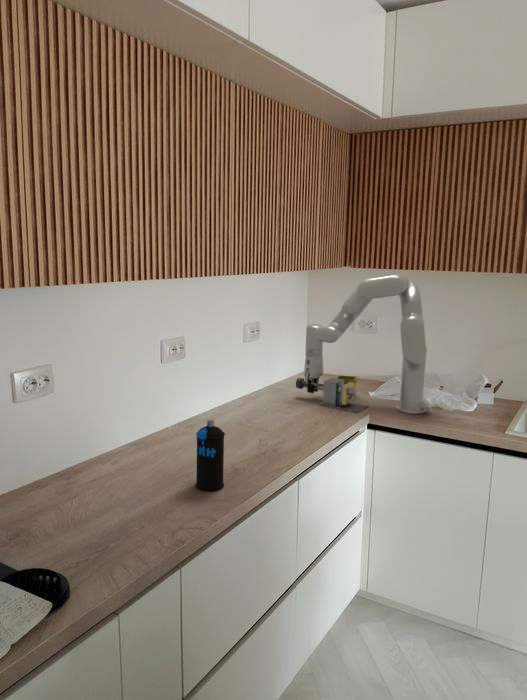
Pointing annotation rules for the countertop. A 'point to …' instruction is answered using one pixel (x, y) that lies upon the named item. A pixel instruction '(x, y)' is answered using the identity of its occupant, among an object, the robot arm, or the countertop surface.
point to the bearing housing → (331, 393)
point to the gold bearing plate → (345, 397)
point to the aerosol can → (210, 457)
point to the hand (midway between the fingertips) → (312, 391)
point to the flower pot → (347, 379)
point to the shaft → (320, 386)
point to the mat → (353, 407)
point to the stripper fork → (341, 398)
